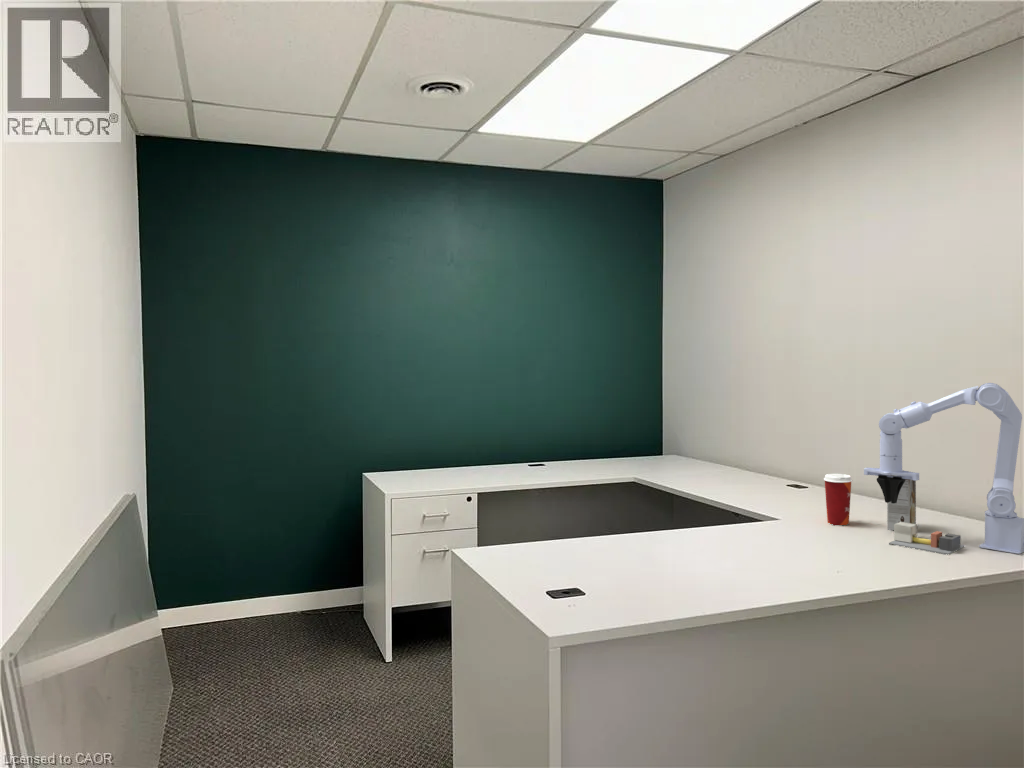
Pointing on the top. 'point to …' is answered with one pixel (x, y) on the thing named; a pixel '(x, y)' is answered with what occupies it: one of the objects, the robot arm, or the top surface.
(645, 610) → the top surface
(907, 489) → the coffee box
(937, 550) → the mat
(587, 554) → the top surface
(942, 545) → the dark grey hollow block
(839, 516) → the coffee cup
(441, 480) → the top surface
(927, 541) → the yellow thin rod
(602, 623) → the top surface
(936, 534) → the orange thin flat block
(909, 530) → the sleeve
